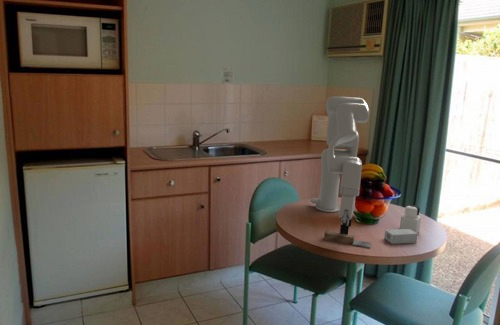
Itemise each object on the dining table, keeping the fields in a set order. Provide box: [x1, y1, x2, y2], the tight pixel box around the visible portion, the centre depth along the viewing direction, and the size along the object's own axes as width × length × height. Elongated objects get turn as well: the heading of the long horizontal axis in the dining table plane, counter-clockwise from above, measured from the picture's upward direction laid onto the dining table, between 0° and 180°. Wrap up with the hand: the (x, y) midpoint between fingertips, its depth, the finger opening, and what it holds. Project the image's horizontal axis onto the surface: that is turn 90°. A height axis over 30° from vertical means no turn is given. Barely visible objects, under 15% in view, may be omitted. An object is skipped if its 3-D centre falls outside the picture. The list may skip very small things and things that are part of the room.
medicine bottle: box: [399, 204, 422, 234], centre depth 193 cm, size 7×7×12 cm
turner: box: [323, 230, 372, 250], centre depth 177 cm, size 19×5×3 cm, turn 71°
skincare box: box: [384, 228, 418, 245], centre depth 182 cm, size 6×4×12 cm
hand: (345, 229), depth 177 cm, fingers open, 9 cm apart
